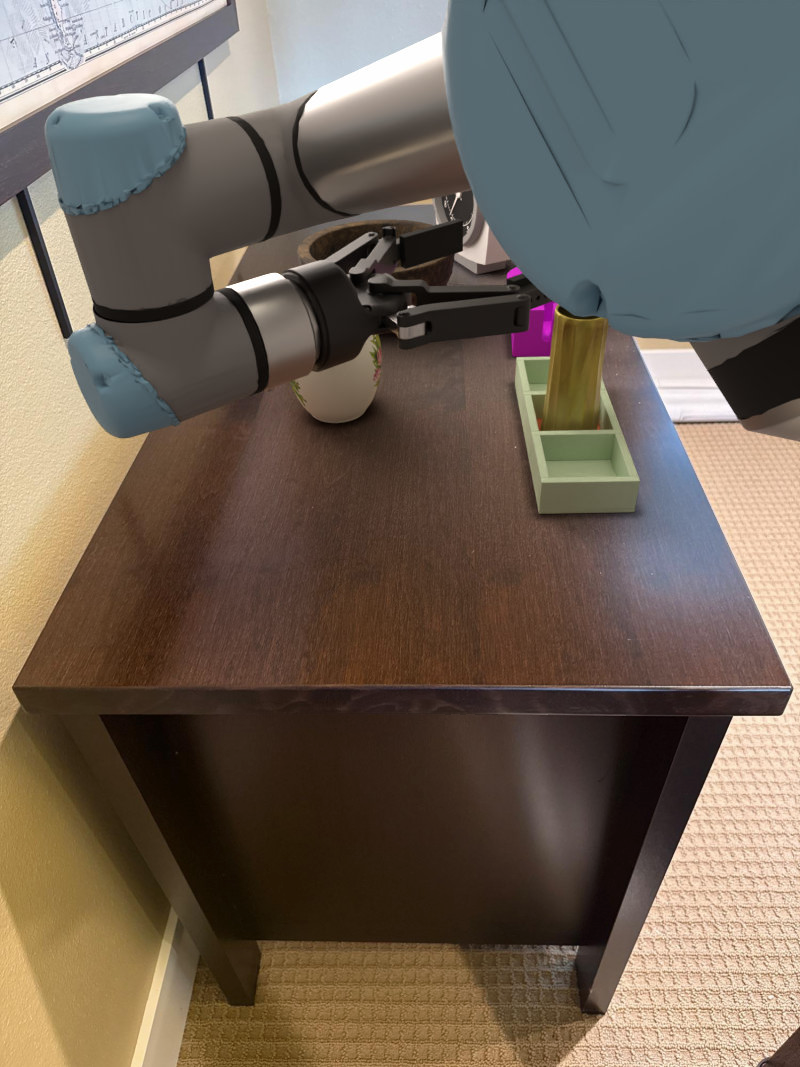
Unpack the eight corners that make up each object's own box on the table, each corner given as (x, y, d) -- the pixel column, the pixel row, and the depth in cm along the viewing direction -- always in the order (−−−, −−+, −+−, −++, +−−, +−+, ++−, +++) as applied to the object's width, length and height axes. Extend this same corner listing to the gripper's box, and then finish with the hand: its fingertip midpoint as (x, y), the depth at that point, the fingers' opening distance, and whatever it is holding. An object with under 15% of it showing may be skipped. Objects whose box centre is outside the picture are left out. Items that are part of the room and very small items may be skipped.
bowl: (459, 345, 103) (459, 271, 97) (297, 350, 104) (287, 277, 98) (452, 283, 120) (453, 216, 114) (313, 287, 121) (306, 222, 115)
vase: (578, 457, 80) (594, 327, 71) (528, 438, 84) (538, 312, 75) (607, 432, 84) (626, 306, 75) (558, 415, 87) (571, 291, 78)
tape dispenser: (503, 306, 112) (505, 263, 109) (572, 305, 112) (577, 262, 108) (506, 356, 100) (509, 310, 96) (584, 356, 99) (589, 309, 95)
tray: (634, 512, 74) (640, 480, 72) (538, 513, 74) (541, 482, 72) (590, 383, 94) (593, 355, 92) (514, 384, 94) (516, 357, 92)
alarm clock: (427, 249, 132) (425, 118, 119) (471, 240, 135) (473, 110, 122) (479, 284, 119) (483, 140, 107) (526, 273, 122) (535, 132, 109)
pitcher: (372, 365, 100) (364, 259, 91) (395, 438, 86) (389, 320, 77) (287, 375, 99) (271, 268, 90) (297, 450, 85) (279, 333, 76)
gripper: (228, 320, 67) (423, 260, 76) (398, 438, 51) (619, 343, 60) (210, 231, 62) (421, 178, 71) (393, 329, 46) (633, 245, 55)
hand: (512, 253), depth 66 cm, fingers open, 13 cm apart
